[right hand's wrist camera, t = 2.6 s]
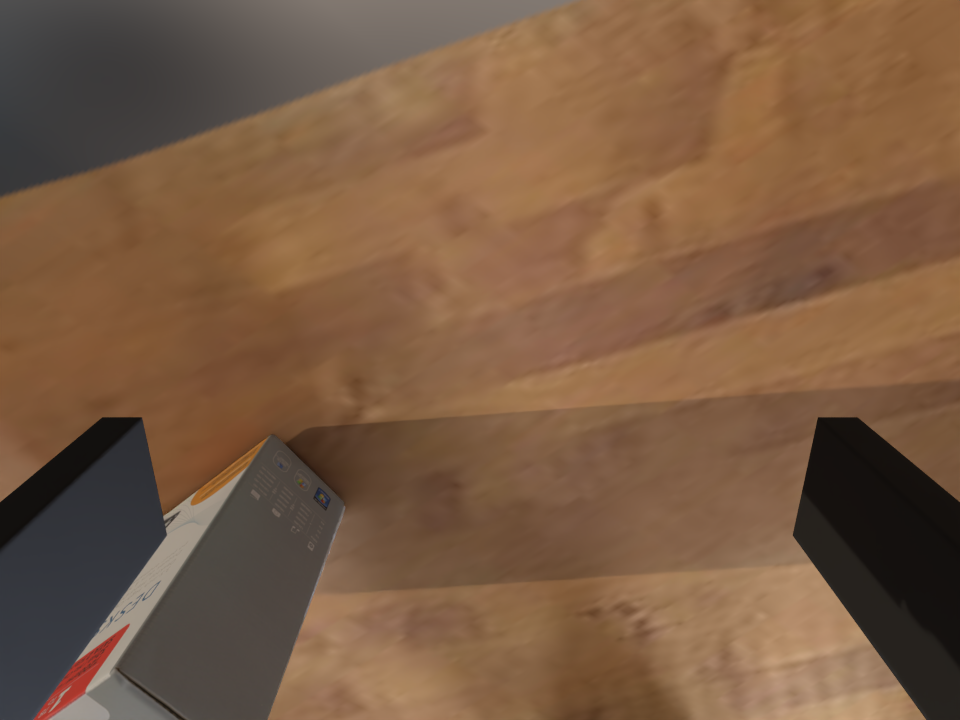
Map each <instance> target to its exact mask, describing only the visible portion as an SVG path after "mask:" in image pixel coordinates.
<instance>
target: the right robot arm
mask: <svg viewBox="0 0 960 720" xmlns="http://www.w3.org/2000/svg"><path fill="white" fill-rule="evenodd" d="M166 536H167V532H166V527H165V523H164V518H163V513H162V509H161V504H160V499H159V495H158V490H157V485H156V481H155V476H154V471H153V467H152V462H151V457H150V453H149V448H148V443H147V439H146V434H145V429H144V425H143V420H142V417H102V418H101V419H100V420H99V421H98V422H96V423H95V424H94V425H93V426H92V427H90V428H89V429H88V430H87V431H86V432H84V433H83V434H82V435H81V436H80V437H78V438H77V439H76V440H75V441H74V442H72V443H71V444H70V445H69V446H68V447H66V448H65V449H64V450H63V451H61V452H60V453H59V454H58V455H57V456H55V457H54V458H53V459H52V460H51V461H49V462H48V463H47V464H46V465H45V466H43V467H42V468H41V469H40V470H39V471H37V472H36V473H35V474H34V475H33V476H31V477H30V478H29V479H28V480H27V481H25V482H24V483H23V484H22V485H21V486H19V487H18V488H17V489H16V490H15V491H13V492H12V493H11V494H10V495H8V496H7V497H6V498H5V499H4V500H2V501H1V502H0V720H34V718H35V717H36V716H37V714H38V713H39V711H40V710H41V709H42V707H43V706H44V705H45V703H46V702H47V700H48V699H49V698H50V696H51V695H52V694H53V692H54V691H55V689H56V688H57V687H58V685H59V684H60V682H61V681H62V680H63V678H64V677H65V676H66V674H67V673H68V671H69V670H70V669H71V667H72V666H73V665H74V663H75V662H76V660H77V659H78V658H79V656H80V655H81V654H82V652H83V651H84V649H85V648H86V647H87V645H88V644H89V643H90V641H91V640H92V638H93V637H94V636H95V634H96V633H97V631H98V630H99V629H100V627H101V626H102V625H103V623H104V622H105V620H106V619H107V618H108V616H109V615H110V614H111V612H112V611H113V609H114V608H115V607H116V605H117V604H118V603H119V601H120V600H121V598H122V597H123V596H124V594H125V593H126V591H127V590H128V589H129V587H130V586H131V585H132V583H133V582H134V580H135V579H136V578H137V576H138V575H139V574H140V572H141V571H142V569H143V568H144V567H145V565H146V564H147V563H148V561H149V560H150V558H151V557H152V556H153V554H154V553H155V552H156V550H157V549H158V547H159V546H160V545H161V543H162V542H163V540H164V539H165V538H166ZM793 536H794V538H795V539H796V540H797V542H798V543H799V545H800V546H801V547H802V549H803V550H804V552H805V553H806V554H807V556H808V557H809V558H810V560H811V561H812V563H813V564H814V565H815V567H816V568H817V569H818V571H819V572H820V574H821V575H822V576H823V578H824V579H825V580H826V582H827V583H828V585H829V586H830V587H831V589H832V590H833V591H834V593H835V594H836V596H837V597H838V598H839V600H840V601H841V603H842V604H843V605H844V607H845V608H846V609H847V611H848V612H849V614H850V615H851V616H852V618H853V619H854V620H855V622H856V623H857V625H858V626H859V627H860V629H861V630H862V631H863V633H864V634H865V636H866V637H867V638H868V640H869V641H870V643H871V644H872V645H873V647H874V648H875V649H876V651H877V652H878V654H879V655H880V656H881V658H882V659H883V660H884V662H885V663H886V665H887V666H888V667H889V669H890V670H891V671H892V673H893V674H894V676H895V677H896V678H897V680H898V681H899V682H900V684H901V685H902V687H903V688H904V689H905V691H906V692H907V694H908V695H909V696H910V698H911V699H912V700H913V702H914V703H915V705H916V706H917V707H918V709H919V710H920V711H921V713H922V714H923V716H924V717H925V718H926V720H960V502H959V501H958V500H956V499H955V498H954V497H953V496H952V495H950V494H949V493H948V492H947V491H945V490H944V489H943V488H942V487H941V486H939V485H938V484H937V483H936V482H935V481H933V480H932V479H931V478H930V477H929V476H927V475H926V474H925V473H924V472H923V471H921V470H920V469H919V468H918V467H917V466H915V465H914V464H913V463H912V462H911V461H909V460H908V459H907V458H906V457H905V456H903V455H902V454H901V453H900V452H899V451H897V450H896V449H895V448H894V447H892V446H891V445H890V444H889V443H888V442H886V441H885V440H884V439H883V438H882V437H880V436H879V435H878V434H877V433H876V432H874V431H873V430H872V429H871V428H870V427H868V426H867V425H866V424H865V423H864V422H862V421H861V420H860V419H859V418H858V417H818V420H817V425H816V429H815V434H814V439H813V443H812V448H811V453H810V457H809V462H808V467H807V471H806V476H805V481H804V485H803V490H802V495H801V499H800V504H799V509H798V513H797V518H796V523H795V527H794V532H793Z"/></svg>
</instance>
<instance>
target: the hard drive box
mask: <svg viewBox="0 0 960 720" xmlns="http://www.w3.org/2000/svg"><path fill="white" fill-rule="evenodd" d="M344 511H345V506H344V501H342V500H341V499H340V498H339V497H338V496H337V495H336V494H335V493H334V492H333V491H332V490H331V489H330V488H329V487H328V486H327V485H326V484H325V483H324V482H323V481H322V480H321V479H320V478H319V477H318V476H317V475H316V474H315V473H314V472H313V471H312V470H311V469H310V468H309V467H308V466H307V465H306V464H304V463H303V462H302V461H301V460H300V459H299V458H298V457H297V456H296V455H295V454H294V453H293V452H292V451H291V450H290V449H289V448H288V447H287V446H286V445H285V444H284V443H283V442H282V441H281V440H280V439H279V438H278V437H277V436H275V435H270V436H268V437H267V438H266V439H264V440H263V441H262V442H260V443H259V444H258V445H256V446H255V447H254V448H252V449H251V450H250V451H249V452H247V453H246V454H245V455H243V456H242V457H240V458H239V459H238V460H236V461H235V462H234V463H233V464H231V465H230V466H229V467H227V468H226V469H225V470H224V471H222V472H221V473H220V474H219V475H217V476H216V477H215V478H213V479H212V480H211V481H209V482H208V483H207V484H205V485H204V486H203V487H202V488H200V489H199V490H198V491H196V492H195V493H194V494H192V495H191V496H190V497H188V498H187V499H186V500H184V501H183V502H182V503H181V504H179V505H178V506H177V507H175V508H174V509H173V510H171V511H170V512H169V513H167V514H166V515H164V516H163V518H164V523H165V527H166V532H167V536H166V538H165V539H164V540H163V542H162V543H161V545H160V546H159V547H158V549H157V550H156V552H155V553H154V554H153V556H152V557H151V558H150V560H149V561H148V563H147V564H146V565H145V567H144V568H143V569H142V571H141V572H140V574H139V575H138V576H137V578H136V579H135V580H134V582H133V583H132V585H131V586H130V587H129V589H128V590H127V591H126V593H125V594H124V596H123V597H122V598H121V600H120V601H119V603H118V604H117V605H116V607H115V608H114V609H113V611H112V612H111V614H110V615H109V616H108V618H107V619H106V620H105V622H104V623H103V625H102V626H101V627H100V629H99V630H98V631H97V633H96V634H95V636H94V637H93V638H92V640H91V641H90V643H89V644H88V645H87V647H86V648H85V649H84V651H83V652H82V654H81V655H80V656H79V658H78V659H77V660H76V662H75V663H74V665H73V666H72V667H71V669H70V670H69V671H68V673H67V674H66V676H65V677H64V678H63V680H62V681H61V682H60V684H59V685H58V687H57V688H56V689H55V691H54V692H53V694H52V695H51V696H50V698H49V699H48V700H47V702H46V703H45V705H44V706H43V707H42V709H41V710H40V711H39V713H38V714H37V716H36V717H35V718H34V720H267V719H268V717H269V714H270V712H271V709H272V706H273V703H274V700H275V697H276V695H277V692H278V689H279V687H280V684H281V681H282V678H283V676H284V673H285V670H286V667H287V665H288V662H289V659H290V656H291V654H292V651H293V648H294V646H295V643H296V640H297V638H298V635H299V632H300V630H301V627H302V624H303V622H304V619H305V616H306V614H307V611H308V608H309V605H310V603H311V600H312V597H313V595H314V592H315V589H316V586H317V584H318V581H319V578H320V576H321V573H322V570H323V568H324V565H325V562H326V560H327V557H328V554H329V551H330V549H331V546H332V543H333V541H334V538H335V535H336V533H337V530H338V527H339V525H340V522H341V519H342V516H343V514H344Z"/></svg>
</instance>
